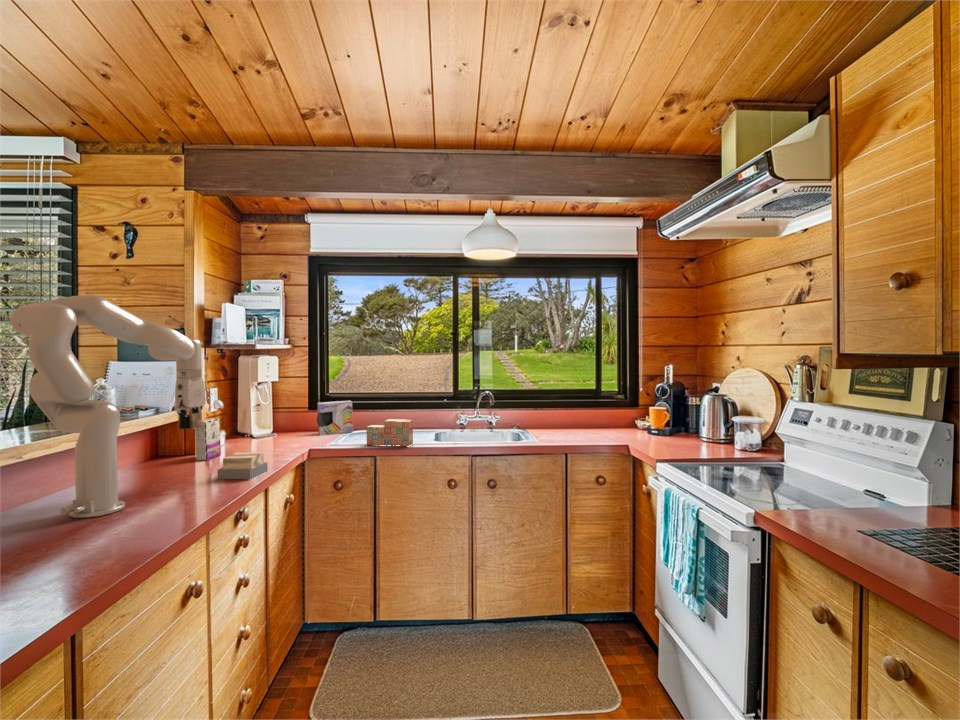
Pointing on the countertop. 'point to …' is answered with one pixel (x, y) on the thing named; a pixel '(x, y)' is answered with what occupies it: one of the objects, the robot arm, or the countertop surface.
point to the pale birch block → (243, 460)
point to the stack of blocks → (391, 433)
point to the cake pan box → (335, 417)
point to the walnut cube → (194, 420)
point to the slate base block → (242, 472)
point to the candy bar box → (208, 439)
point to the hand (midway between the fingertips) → (190, 426)
